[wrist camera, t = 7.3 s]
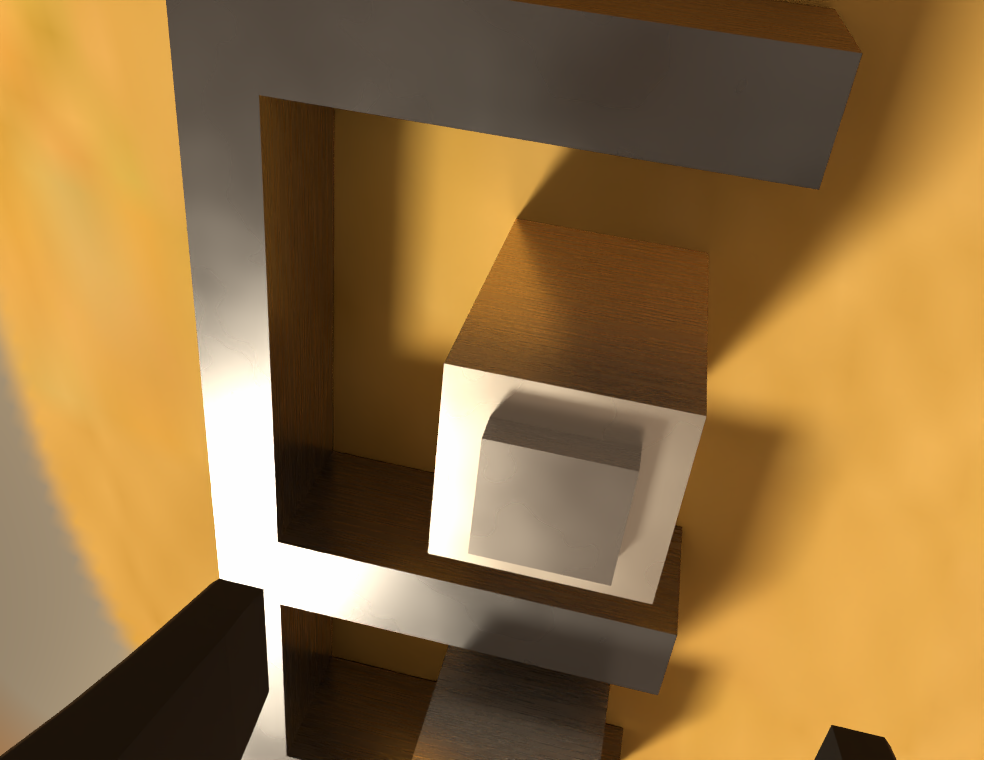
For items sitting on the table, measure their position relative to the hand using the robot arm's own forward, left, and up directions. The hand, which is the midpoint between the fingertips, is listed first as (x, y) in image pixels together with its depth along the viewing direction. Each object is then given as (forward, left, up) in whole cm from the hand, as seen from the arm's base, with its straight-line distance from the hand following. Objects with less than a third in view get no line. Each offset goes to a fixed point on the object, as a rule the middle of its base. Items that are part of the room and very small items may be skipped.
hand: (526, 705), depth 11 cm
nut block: (0, 0, -10) cm, 10 cm away
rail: (-4, +3, -10) cm, 11 cm away
